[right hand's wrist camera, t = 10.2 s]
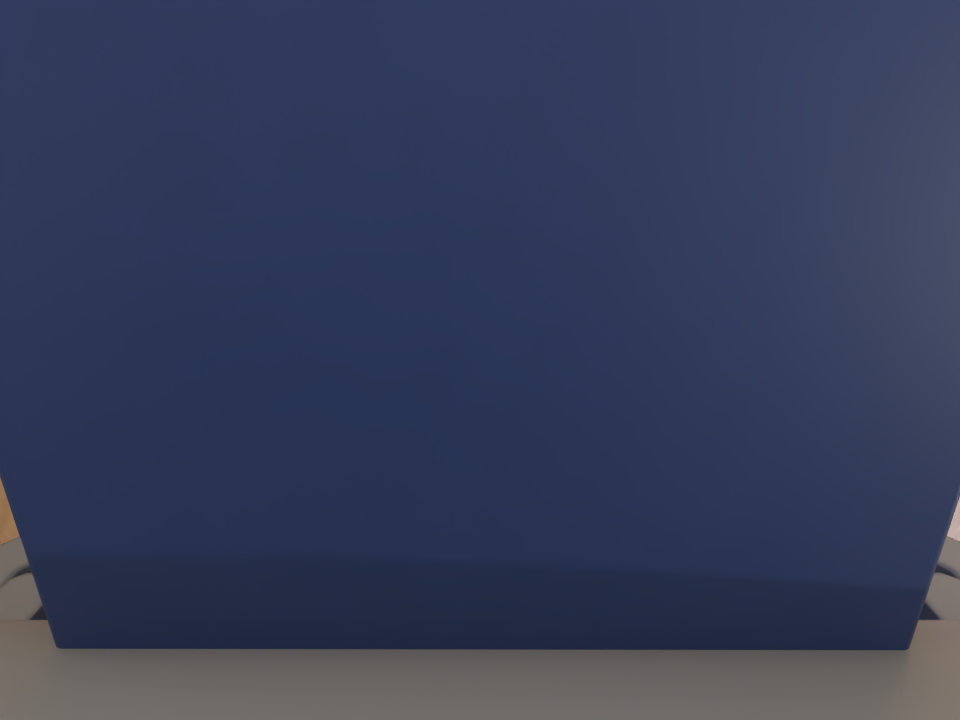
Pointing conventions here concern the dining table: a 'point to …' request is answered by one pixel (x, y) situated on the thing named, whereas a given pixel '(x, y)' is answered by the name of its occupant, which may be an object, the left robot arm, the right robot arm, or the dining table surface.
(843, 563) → the box
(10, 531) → the dining table surface
